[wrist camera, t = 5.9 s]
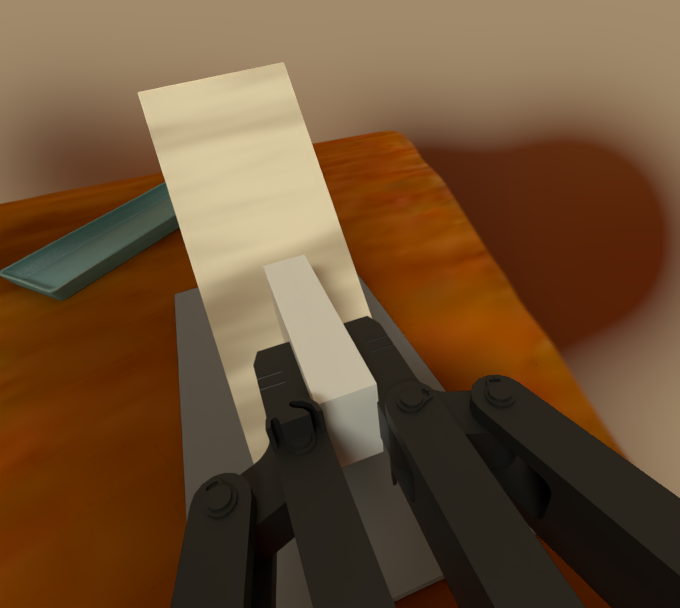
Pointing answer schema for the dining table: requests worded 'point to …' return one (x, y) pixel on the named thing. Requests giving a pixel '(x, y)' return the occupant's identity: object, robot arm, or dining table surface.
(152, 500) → the dining table surface
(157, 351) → the dining table surface
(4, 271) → the shallow long dish
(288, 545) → the rubber mat
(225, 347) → the birch block
